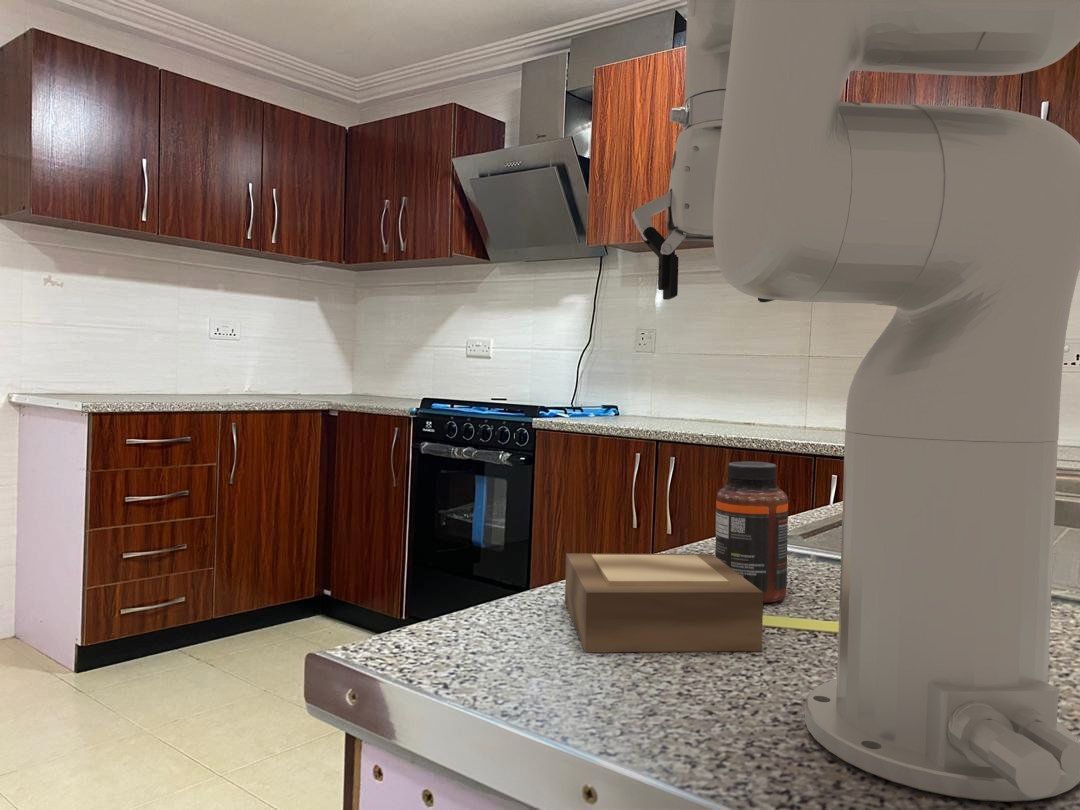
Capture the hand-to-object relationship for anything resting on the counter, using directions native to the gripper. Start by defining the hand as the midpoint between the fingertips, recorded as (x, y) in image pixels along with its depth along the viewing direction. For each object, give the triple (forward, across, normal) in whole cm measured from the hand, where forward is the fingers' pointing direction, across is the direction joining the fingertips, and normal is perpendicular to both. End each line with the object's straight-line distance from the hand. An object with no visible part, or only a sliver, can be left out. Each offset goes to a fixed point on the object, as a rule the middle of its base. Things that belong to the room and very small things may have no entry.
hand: (718, 299), depth 80 cm
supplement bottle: (+26, 0, -11) cm, 29 cm away
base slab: (+26, -10, -19) cm, 34 cm away
